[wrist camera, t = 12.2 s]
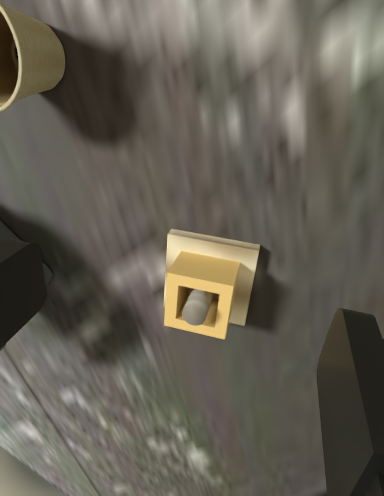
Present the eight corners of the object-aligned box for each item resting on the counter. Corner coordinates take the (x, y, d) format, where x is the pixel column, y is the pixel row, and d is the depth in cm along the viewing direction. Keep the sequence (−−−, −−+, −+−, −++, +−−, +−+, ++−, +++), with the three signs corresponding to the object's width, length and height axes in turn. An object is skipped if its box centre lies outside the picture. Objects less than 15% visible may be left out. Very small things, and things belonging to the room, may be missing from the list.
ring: (181, 250, 38) (167, 272, 34) (240, 262, 37) (233, 286, 33) (177, 299, 41) (164, 325, 37) (231, 311, 40) (224, 339, 36)
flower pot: (23, 118, 38) (-43, 128, 30) (-20, 21, 35) (-105, 5, 27) (94, 92, 35) (41, 96, 27) (56, -17, 31) (-18, -47, 24)
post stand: (171, 228, 39) (146, 261, 32) (260, 244, 37) (253, 282, 30) (167, 300, 44) (144, 342, 37) (245, 318, 42) (237, 365, 35)
